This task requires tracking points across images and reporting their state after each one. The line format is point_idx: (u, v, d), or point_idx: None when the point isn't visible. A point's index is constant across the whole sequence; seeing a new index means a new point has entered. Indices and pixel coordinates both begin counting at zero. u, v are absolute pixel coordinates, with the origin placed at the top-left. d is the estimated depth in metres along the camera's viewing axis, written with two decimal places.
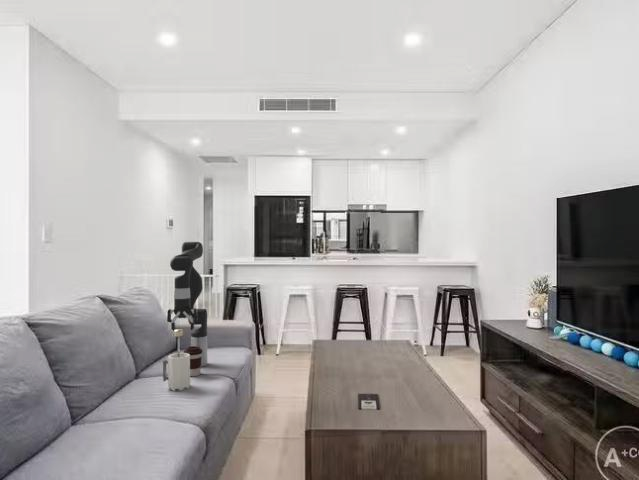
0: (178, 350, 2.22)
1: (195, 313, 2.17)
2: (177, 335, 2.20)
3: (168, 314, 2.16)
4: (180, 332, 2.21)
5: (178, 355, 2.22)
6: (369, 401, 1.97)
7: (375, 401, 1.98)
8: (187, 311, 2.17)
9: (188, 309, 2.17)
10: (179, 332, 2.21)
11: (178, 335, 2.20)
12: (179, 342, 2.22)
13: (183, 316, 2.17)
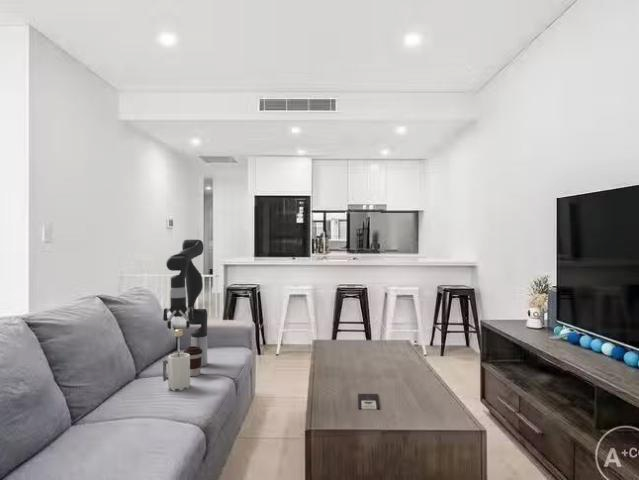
0: (178, 350, 2.22)
1: (191, 312, 2.22)
2: (177, 335, 2.20)
3: (164, 313, 2.21)
4: (180, 332, 2.21)
5: (178, 355, 2.22)
6: (369, 401, 1.97)
7: (375, 401, 1.98)
8: (183, 310, 2.22)
9: (184, 308, 2.22)
10: (179, 332, 2.21)
11: (178, 335, 2.20)
12: (179, 342, 2.22)
13: (179, 315, 2.21)
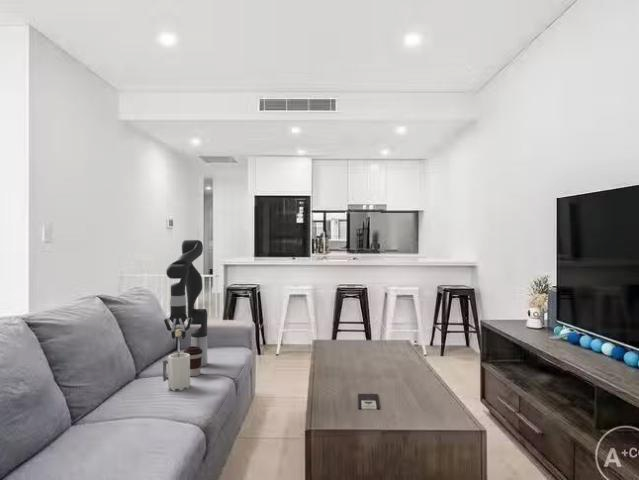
0: (178, 350, 2.22)
1: (189, 322, 2.22)
2: (177, 335, 2.20)
3: (166, 323, 2.21)
4: (180, 332, 2.21)
5: (178, 355, 2.22)
6: (369, 401, 1.97)
7: (375, 401, 1.98)
8: (183, 319, 2.21)
9: (184, 316, 2.22)
10: (179, 332, 2.21)
11: (178, 335, 2.20)
12: (179, 342, 2.22)
13: (177, 322, 2.21)
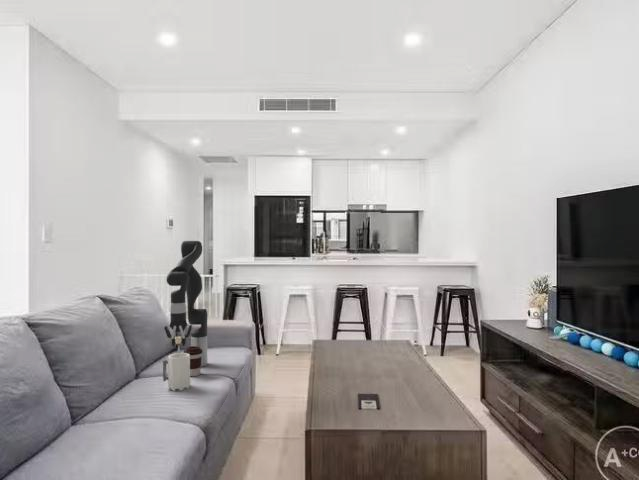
0: (178, 357, 2.22)
1: (189, 330, 2.22)
2: (177, 342, 2.20)
3: (166, 330, 2.21)
4: (180, 339, 2.21)
5: None
6: (369, 401, 1.97)
7: (375, 401, 1.98)
8: (183, 326, 2.21)
9: (184, 323, 2.22)
10: (179, 339, 2.21)
11: (178, 342, 2.20)
12: (179, 349, 2.22)
13: (177, 329, 2.21)
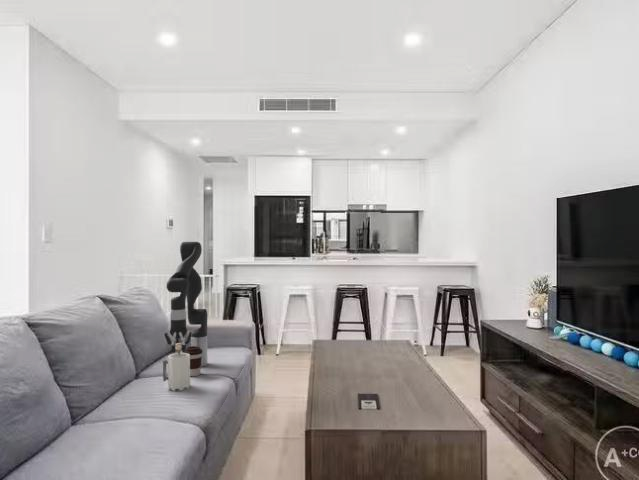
0: None
1: (189, 336, 2.22)
2: (177, 349, 2.20)
3: (166, 337, 2.21)
4: (180, 346, 2.21)
5: None
6: (369, 401, 1.97)
7: (375, 401, 1.98)
8: (183, 333, 2.21)
9: (184, 330, 2.22)
10: (179, 346, 2.21)
11: (178, 349, 2.20)
12: (179, 356, 2.22)
13: (178, 336, 2.21)
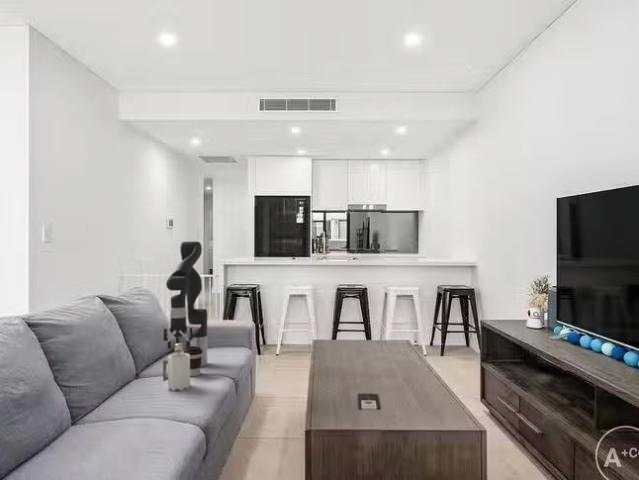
0: None
1: (191, 332, 2.22)
2: (177, 349, 2.20)
3: (164, 333, 2.20)
4: (180, 346, 2.21)
5: None
6: (369, 401, 1.97)
7: (375, 401, 1.98)
8: (183, 330, 2.21)
9: (184, 328, 2.21)
10: (179, 346, 2.21)
11: (178, 349, 2.20)
12: (179, 356, 2.22)
13: (179, 335, 2.21)
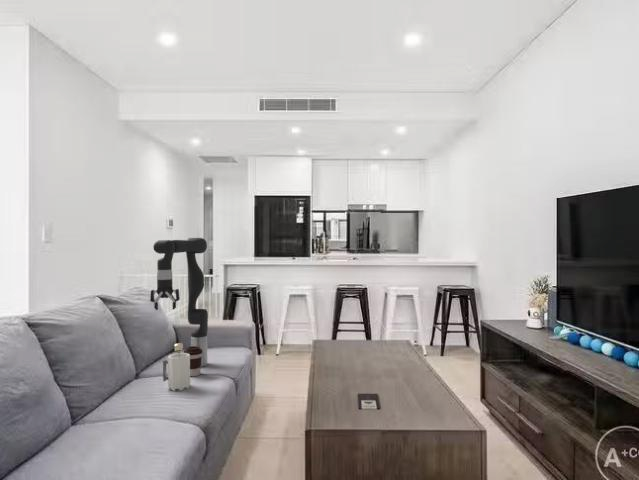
0: None
1: (177, 293, 2.31)
2: (177, 349, 2.20)
3: (151, 294, 2.29)
4: (180, 346, 2.21)
5: None
6: (369, 401, 1.97)
7: (375, 401, 1.98)
8: (169, 291, 2.30)
9: (170, 289, 2.30)
10: (179, 346, 2.21)
11: (178, 349, 2.20)
12: (179, 356, 2.22)
13: (165, 296, 2.30)
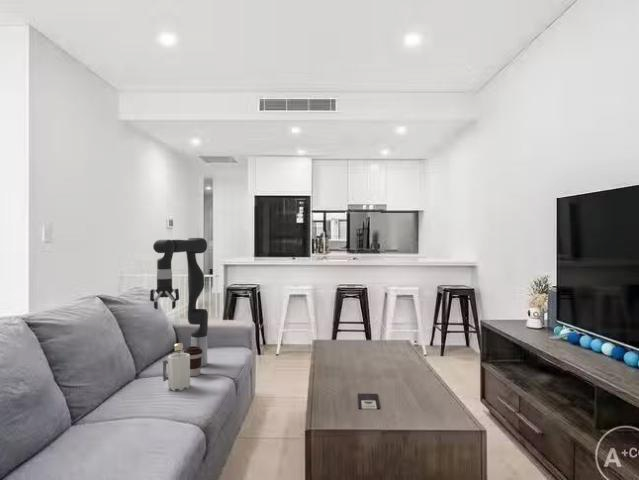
0: None
1: (176, 293, 2.31)
2: (177, 349, 2.20)
3: (151, 293, 2.30)
4: (180, 346, 2.21)
5: None
6: (369, 401, 1.97)
7: (375, 401, 1.98)
8: (169, 291, 2.31)
9: (170, 289, 2.31)
10: (179, 346, 2.21)
11: (178, 349, 2.20)
12: (179, 356, 2.22)
13: (165, 295, 2.30)
